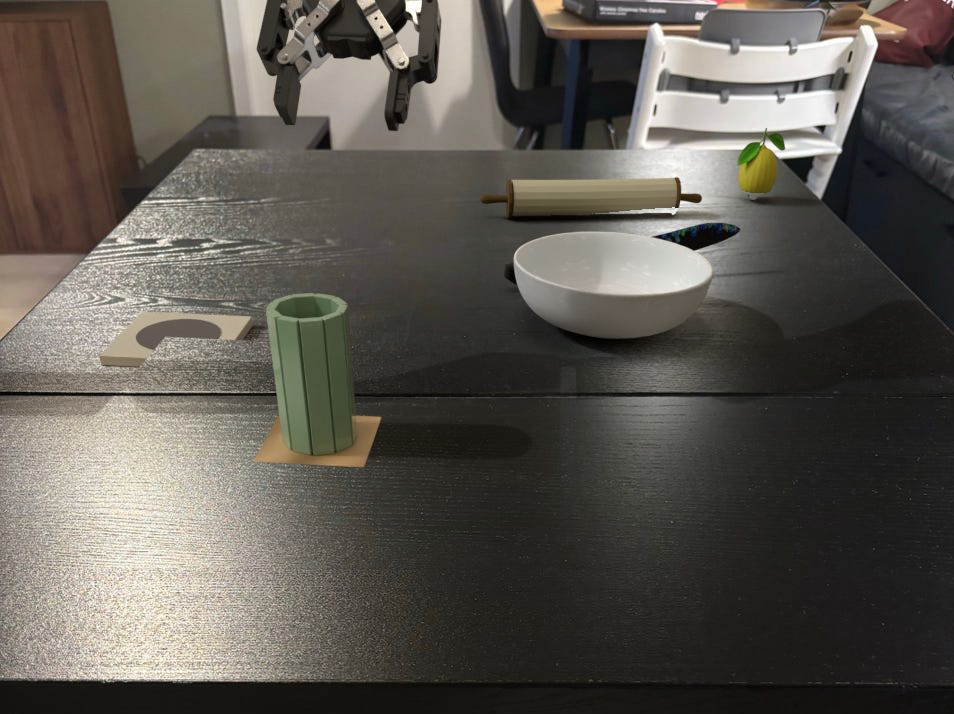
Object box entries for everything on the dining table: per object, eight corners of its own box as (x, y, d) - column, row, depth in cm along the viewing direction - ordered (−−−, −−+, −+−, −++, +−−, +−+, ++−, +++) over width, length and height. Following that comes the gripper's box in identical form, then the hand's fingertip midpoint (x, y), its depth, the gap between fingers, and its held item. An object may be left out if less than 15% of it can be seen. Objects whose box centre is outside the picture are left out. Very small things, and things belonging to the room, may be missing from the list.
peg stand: (255, 474, 76) (236, 352, 69) (281, 424, 83) (266, 309, 76) (365, 480, 75) (356, 358, 69) (382, 429, 82) (376, 314, 76)
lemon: (775, 197, 145) (790, 124, 139) (775, 207, 140) (791, 133, 134) (731, 194, 146) (744, 122, 140) (730, 203, 142) (743, 129, 135)
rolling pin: (482, 223, 131) (483, 184, 128) (478, 212, 136) (478, 174, 132) (704, 220, 135) (710, 182, 131) (693, 209, 139) (699, 172, 136)
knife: (508, 304, 111) (505, 266, 108) (501, 294, 113) (499, 257, 110) (747, 259, 115) (752, 221, 112) (736, 250, 117) (740, 213, 114)
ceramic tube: (275, 453, 76) (257, 319, 69) (293, 419, 81) (277, 291, 74) (348, 457, 76) (338, 323, 69) (361, 423, 81) (353, 294, 74)
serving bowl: (662, 378, 92) (673, 308, 87) (476, 335, 99) (478, 269, 95) (728, 313, 106) (740, 249, 101) (561, 279, 114) (565, 219, 109)
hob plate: (100, 365, 92) (98, 354, 91) (143, 320, 101) (141, 310, 100) (221, 371, 91) (219, 360, 91) (253, 325, 101) (252, 315, 100)
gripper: (266, -110, 73) (235, 85, 71) (446, -106, 71) (418, 94, 70) (295, -31, 80) (267, 147, 79) (458, -26, 78) (434, 156, 77)
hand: (338, 121), depth 74 cm, fingers open, 8 cm apart
